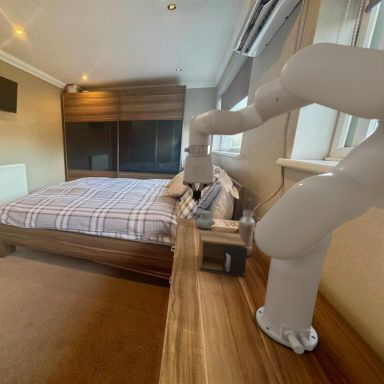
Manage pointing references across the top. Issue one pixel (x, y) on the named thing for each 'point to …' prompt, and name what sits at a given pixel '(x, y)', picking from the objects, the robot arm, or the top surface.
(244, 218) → the plastic bottle
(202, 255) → the cabinet
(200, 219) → the air freshener
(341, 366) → the top surface
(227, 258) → the sliding door
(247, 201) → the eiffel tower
